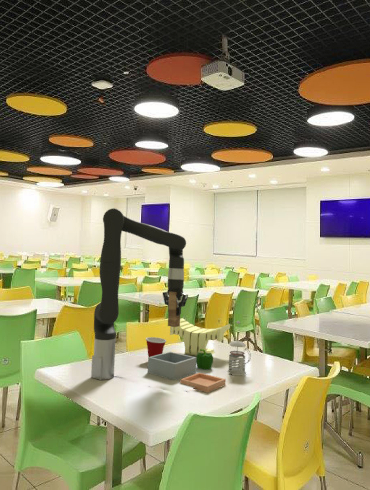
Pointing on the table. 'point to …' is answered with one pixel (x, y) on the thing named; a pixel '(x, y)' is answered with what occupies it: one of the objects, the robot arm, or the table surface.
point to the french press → (234, 357)
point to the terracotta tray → (203, 382)
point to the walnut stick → (173, 311)
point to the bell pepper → (204, 360)
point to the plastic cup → (155, 346)
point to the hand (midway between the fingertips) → (174, 314)
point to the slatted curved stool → (197, 336)
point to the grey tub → (172, 365)
